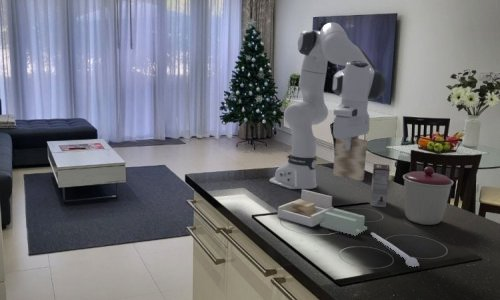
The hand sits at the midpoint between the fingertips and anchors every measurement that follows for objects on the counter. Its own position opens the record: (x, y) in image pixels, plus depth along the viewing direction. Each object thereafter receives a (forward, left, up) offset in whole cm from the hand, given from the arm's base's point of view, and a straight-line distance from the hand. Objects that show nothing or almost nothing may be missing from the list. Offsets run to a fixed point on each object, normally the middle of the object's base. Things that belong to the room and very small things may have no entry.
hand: (350, 149), depth 176 cm
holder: (0, 0, -29) cm, 29 cm away
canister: (+18, +30, -29) cm, 45 cm away
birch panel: (0, 0, -10) cm, 10 cm away
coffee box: (-4, +38, -29) cm, 48 cm away
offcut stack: (-16, -2, -29) cm, 33 cm away
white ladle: (+21, -8, -29) cm, 37 cm away
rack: (-16, 0, -29) cm, 33 cm away
